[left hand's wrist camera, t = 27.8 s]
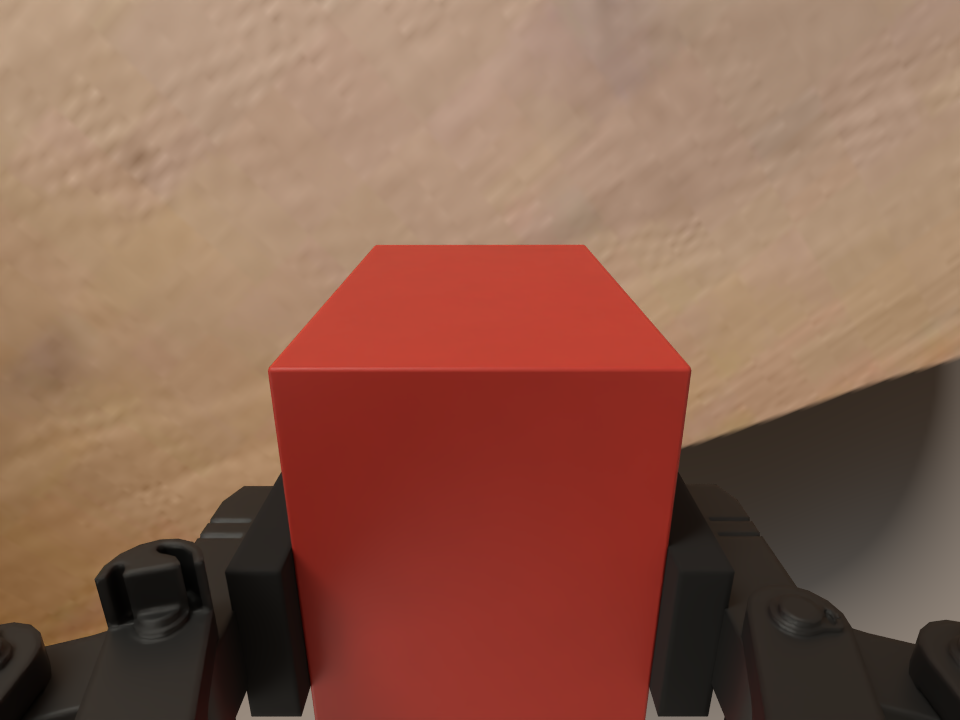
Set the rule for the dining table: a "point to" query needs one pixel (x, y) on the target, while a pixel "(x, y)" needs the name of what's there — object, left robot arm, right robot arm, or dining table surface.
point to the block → (479, 486)
